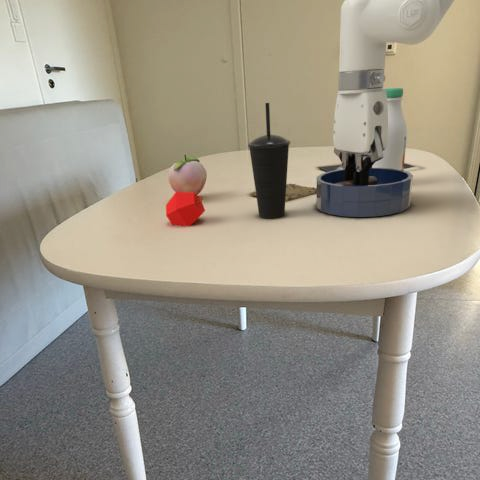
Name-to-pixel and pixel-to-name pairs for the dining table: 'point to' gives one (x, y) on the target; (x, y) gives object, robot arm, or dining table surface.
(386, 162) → the milk bottle
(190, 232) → the dining table surface
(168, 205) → the red faceted polyhedron
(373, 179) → the stick
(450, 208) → the dining table surface
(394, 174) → the bowl
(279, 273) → the dining table surface
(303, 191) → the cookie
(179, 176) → the decorative fruit
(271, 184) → the drinking cup
